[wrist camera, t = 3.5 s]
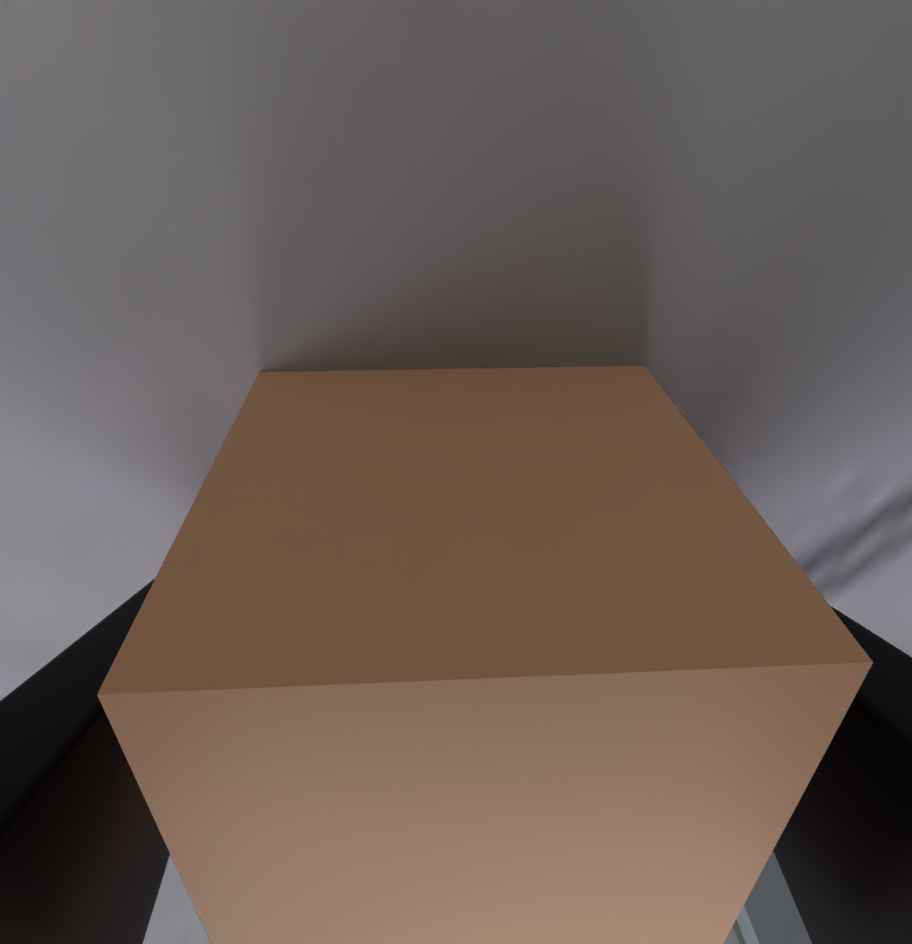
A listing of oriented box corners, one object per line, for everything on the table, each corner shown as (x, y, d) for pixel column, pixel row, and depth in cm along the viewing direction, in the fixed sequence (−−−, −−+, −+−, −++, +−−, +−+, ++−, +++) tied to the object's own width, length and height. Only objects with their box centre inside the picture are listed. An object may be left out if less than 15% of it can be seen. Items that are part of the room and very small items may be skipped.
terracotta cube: (306, 640, 11) (240, 1006, 7) (260, 369, 8) (97, 694, 4) (596, 630, 11) (706, 974, 7) (643, 363, 8) (873, 662, 4)
